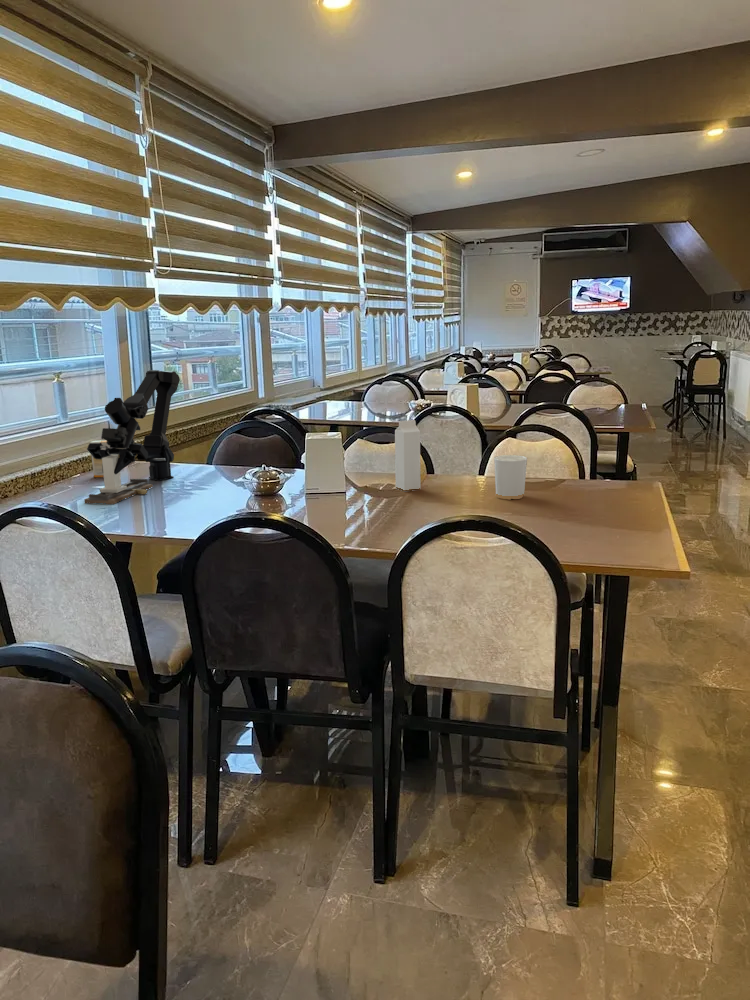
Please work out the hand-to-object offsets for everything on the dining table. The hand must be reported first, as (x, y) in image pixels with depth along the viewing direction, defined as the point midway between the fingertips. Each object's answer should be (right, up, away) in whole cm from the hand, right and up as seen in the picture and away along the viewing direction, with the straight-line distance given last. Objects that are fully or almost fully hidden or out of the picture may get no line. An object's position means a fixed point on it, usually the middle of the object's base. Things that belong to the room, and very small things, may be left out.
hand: (109, 473), depth 238 cm
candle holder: (+124, -8, -8) cm, 125 cm away
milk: (+94, -5, +7) cm, 94 cm away
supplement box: (-14, 0, +38) cm, 41 cm away
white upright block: (0, -6, +3) cm, 7 cm away
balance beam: (+1, -7, +7) cm, 9 cm away
